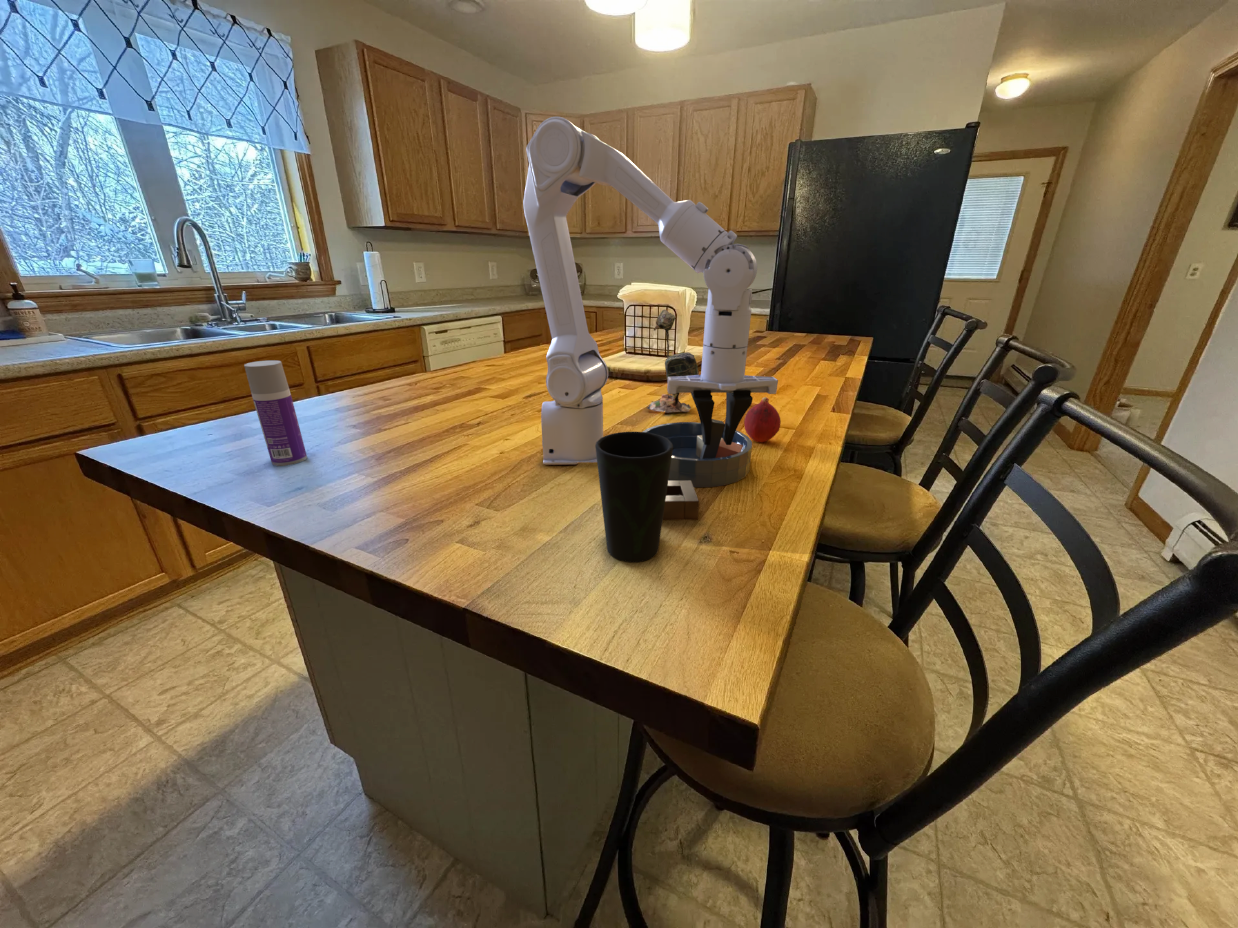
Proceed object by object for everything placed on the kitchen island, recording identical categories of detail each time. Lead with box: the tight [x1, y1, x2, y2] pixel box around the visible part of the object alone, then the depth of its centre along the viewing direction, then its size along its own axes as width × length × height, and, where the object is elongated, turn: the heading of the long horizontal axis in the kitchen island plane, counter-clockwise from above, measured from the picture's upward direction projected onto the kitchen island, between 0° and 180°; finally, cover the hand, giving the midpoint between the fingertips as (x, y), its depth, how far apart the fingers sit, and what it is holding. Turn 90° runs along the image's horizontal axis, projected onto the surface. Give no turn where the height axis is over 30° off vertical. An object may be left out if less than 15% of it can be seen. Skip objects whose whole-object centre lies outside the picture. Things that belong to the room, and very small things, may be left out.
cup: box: [595, 431, 673, 563], centre depth 51 cm, size 8×8×12 cm
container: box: [244, 359, 308, 467], centre depth 73 cm, size 5×5×15 cm
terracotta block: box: [716, 439, 743, 458], centre depth 71 cm, size 3×3×3 cm
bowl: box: [642, 421, 753, 488], centre depth 73 cm, size 16×16×4 cm
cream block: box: [696, 435, 723, 458], centre depth 75 cm, size 3×3×3 cm
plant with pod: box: [646, 309, 700, 414], centre depth 97 cm, size 8×11×20 cm
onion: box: [743, 396, 782, 444], centre depth 82 cm, size 6×6×8 cm
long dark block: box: [700, 418, 725, 459], centre depth 70 cm, size 2×2×7 cm
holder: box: [663, 480, 700, 521], centre depth 60 cm, size 6×6×3 cm
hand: (716, 442), depth 70 cm, fingers closed
